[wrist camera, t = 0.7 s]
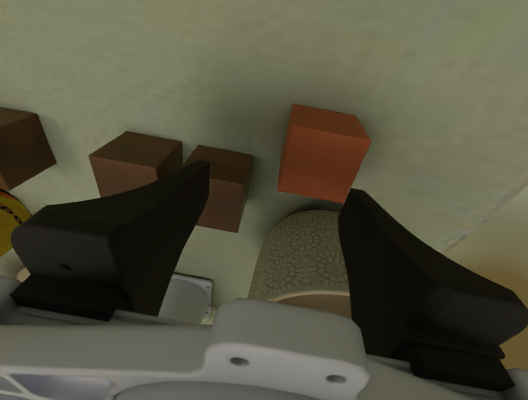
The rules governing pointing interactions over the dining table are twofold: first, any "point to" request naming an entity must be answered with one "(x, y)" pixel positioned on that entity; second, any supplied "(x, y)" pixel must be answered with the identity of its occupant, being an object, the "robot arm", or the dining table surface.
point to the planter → (303, 264)
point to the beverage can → (10, 219)
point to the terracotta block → (321, 153)
